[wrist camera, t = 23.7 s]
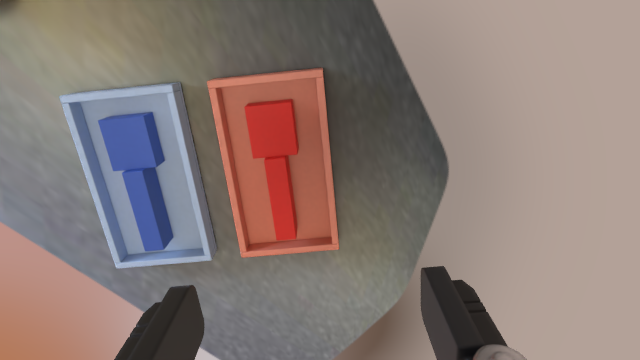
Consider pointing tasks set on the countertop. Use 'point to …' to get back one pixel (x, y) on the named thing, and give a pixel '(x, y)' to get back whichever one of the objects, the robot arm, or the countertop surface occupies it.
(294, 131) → the red paddle block
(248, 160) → the red tray
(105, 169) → the blue tray
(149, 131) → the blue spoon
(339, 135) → the countertop surface
